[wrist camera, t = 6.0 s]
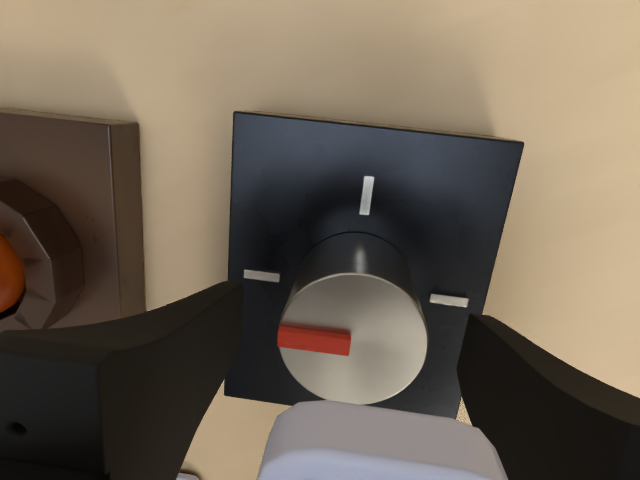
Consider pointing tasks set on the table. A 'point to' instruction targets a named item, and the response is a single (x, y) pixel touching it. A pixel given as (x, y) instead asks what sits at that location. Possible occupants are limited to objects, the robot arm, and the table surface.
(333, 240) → the dial
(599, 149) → the table surface
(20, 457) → the robot arm
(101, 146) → the button box
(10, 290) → the button
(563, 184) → the table surface
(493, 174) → the panel
